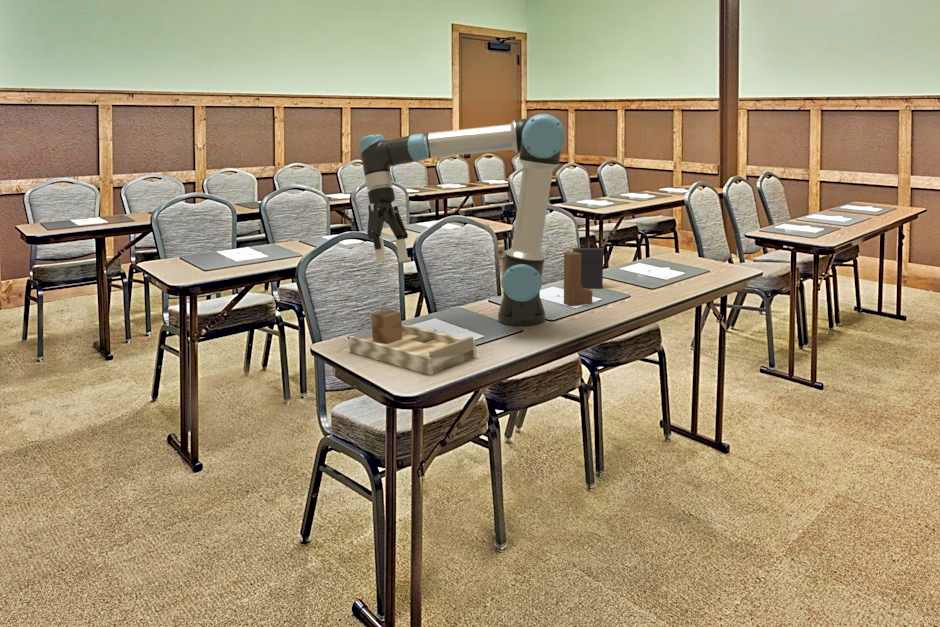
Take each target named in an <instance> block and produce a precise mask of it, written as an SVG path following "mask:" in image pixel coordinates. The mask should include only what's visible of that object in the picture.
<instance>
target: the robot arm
mask: <svg viewBox="0 0 940 627" xmlns="http://www.w3.org/2000/svg"><path fill="white" fill-rule="evenodd" d="M565 132H566V131H565V129H564V126H563V124H562V122H561V121H560V120H559V119H558V118H556V117H555V116H554V115H552V114H548V113H539V114H536V115H535V114H534V115H533V116H532V115H531V116H529V117H525V118H521V119H513V121H512V122H510V123H508V124H507V123H506V124H496V125H490V126H479V127H471V128H461V129H453V130H445V131H444V130H443V131H434V132H428V133H427V132H425V133H412V134H411V133H410V134H408V135H405V136H402V137H396V138H393V139H388V140H387V139H386V138H385V137H384V135H382V134H379V133H378V134H377V133H376V134H370V135H366V136H363V137H362V138H360V140H359V149H360V158H361V159H360V160H361V163H362V168H363V173H364V178H365V184H366V190H368V192H367V196H368V201H369V202H368V203H369V204H368V205H367V208H368V222H367V236H368V239H369V240H372V241H373V248H374V251H375V257H376V263H379V262H384V261H387V255H386V249H385V244H384V239H383V237H382V231H383V227H384V223H386V224H388V226H389V227H390V230H391V232H392V233H393V235H394V237H395V238H396V240H395V244H396V251H397V257H398V261H399V263H402V262H406V261H409V255H408V250H407V244H406V239H408V237H409V234H408V232H407V230H406V227H405V225H404V223H403V222H404V221H403V219H402V218H401V217H402V216H401V215H400V211H399V207H398V206H397V205H395V206H393V205H392V202H394V201H395V200H396V196H395V191H394V188H393V185H394V184H393V180H392V174H391V168H390V167H395V166H399V165H405V164H411V163H415V162H416V163H417V162H420V161H425V160H427V159H432V158H442V157H451V156H462V155H471V154H472V155H473V154H481V153H482V154H483V153H491V152H501V151H509V150H510V151H511V150H513V151H514V152H515V153H519V157H518V158H519V159H518V160H519V162H520V163H521V165H522V172H521V181H520V187H519V195H518V201H517V207H516V208H517V209H516V214H515V223H514V230H513V236H512V242H511V247H510V248H509V249H506V250H503V252H502V258H501V260H502V277H501V282H500V284H501V285H500V286H501V288H502V292H503V293H502V294H503V296H502V300H501V302H500V306H499V309H498V312H497V321H498V322H500V324H501V323H502V324H504V325H509V326H517V327H518V326H519V327H523V326H524V327H525V326H526V327H527V326H535V325H539V324H542V323H543V322H545V321H546V311H545V309H544V306H543V303H542V300H541V296H540V295H541V294H540V291H541V289H542V285H543V281H542V279H543V278H542V276H543V270H544V269H543V268H544V263H545V256H544V255H543V253H542V252H541V250H542V243H543V236H544V230H545V223H546V218H547V211H548V204H549V199H550V198H549V197H550V190H551V184H552V178H553V171H554V169H556V168H558V167H559V166H560V161H561V154H562V148H563V147H564V143H565V138H566V134H565Z"/></svg>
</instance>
